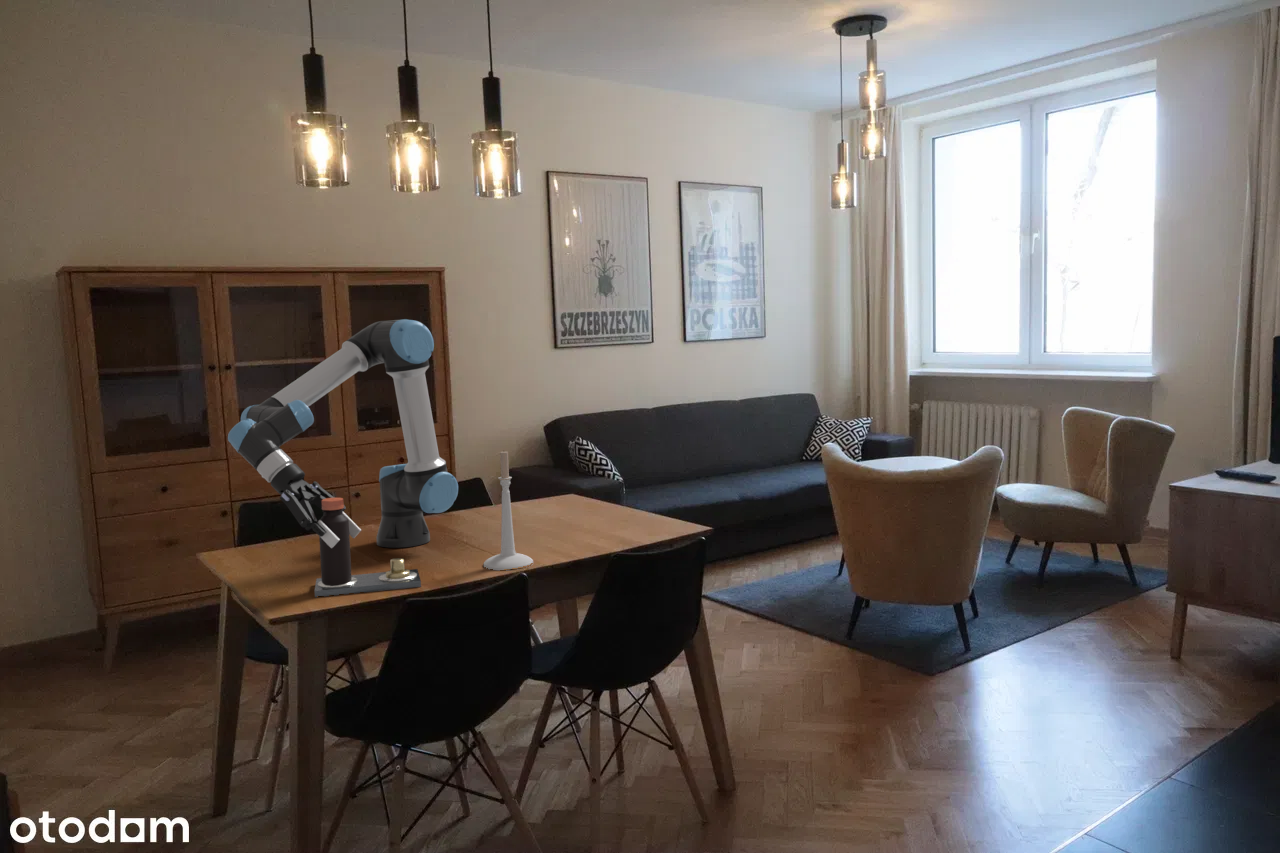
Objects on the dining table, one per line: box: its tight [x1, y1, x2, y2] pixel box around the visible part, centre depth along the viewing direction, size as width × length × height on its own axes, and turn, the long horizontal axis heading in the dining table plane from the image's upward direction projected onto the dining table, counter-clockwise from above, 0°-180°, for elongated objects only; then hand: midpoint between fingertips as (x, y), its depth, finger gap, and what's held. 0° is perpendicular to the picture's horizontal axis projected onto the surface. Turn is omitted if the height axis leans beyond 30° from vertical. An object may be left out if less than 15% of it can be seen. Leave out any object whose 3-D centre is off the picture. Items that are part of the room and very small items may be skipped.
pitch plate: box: [314, 557, 422, 598], centre depth 224 cm, size 24×12×6 cm, turn 107°
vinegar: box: [318, 497, 352, 585], centre depth 220 cm, size 7×7×20 cm
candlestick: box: [483, 451, 534, 571], centre depth 240 cm, size 13×13×30 cm
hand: (346, 538), depth 220 cm, fingers open, 10 cm apart
